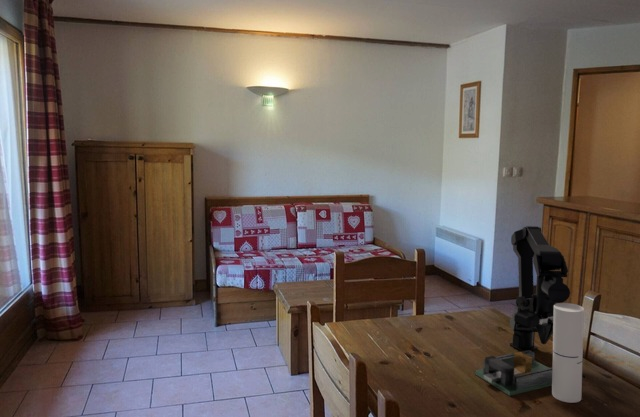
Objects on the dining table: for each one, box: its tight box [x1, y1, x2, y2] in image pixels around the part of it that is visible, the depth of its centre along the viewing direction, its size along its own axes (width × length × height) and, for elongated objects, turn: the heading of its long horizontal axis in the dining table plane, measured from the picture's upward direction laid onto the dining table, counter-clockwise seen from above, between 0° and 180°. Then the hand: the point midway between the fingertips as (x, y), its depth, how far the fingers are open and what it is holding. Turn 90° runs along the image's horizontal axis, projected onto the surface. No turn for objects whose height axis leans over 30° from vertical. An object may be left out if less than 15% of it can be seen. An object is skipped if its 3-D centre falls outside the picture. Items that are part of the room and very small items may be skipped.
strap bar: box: [484, 351, 532, 383], centre depth 141 cm, size 14×4×5 cm, turn 113°
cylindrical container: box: [551, 302, 585, 404], centre depth 131 cm, size 7×7×25 cm
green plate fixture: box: [474, 350, 552, 396], centre depth 143 cm, size 22×14×6 cm, turn 113°
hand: (543, 343), depth 145 cm, fingers closed
